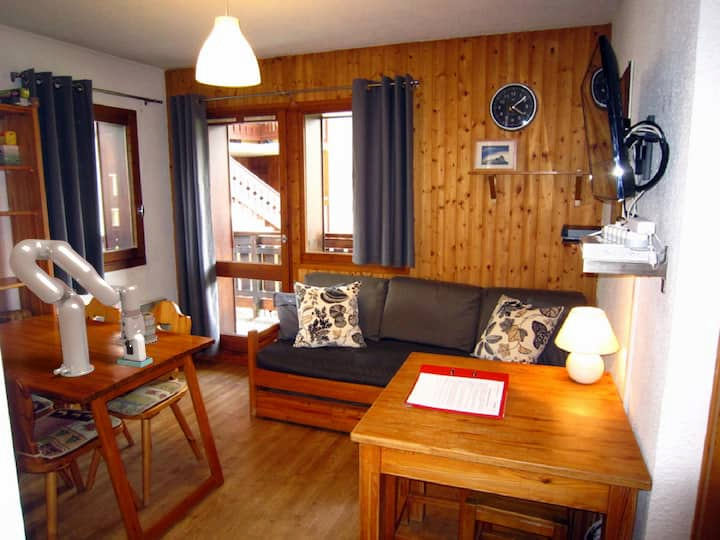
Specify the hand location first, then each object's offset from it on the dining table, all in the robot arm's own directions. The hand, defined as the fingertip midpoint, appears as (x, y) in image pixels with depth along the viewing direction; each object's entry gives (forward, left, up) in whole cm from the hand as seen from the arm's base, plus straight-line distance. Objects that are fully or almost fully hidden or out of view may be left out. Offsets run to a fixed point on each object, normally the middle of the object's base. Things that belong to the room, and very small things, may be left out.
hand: (134, 352), depth 227 cm
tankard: (+23, +21, -5) cm, 32 cm away
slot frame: (0, 0, -5) cm, 5 cm away
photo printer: (0, 0, -4) cm, 4 cm away
